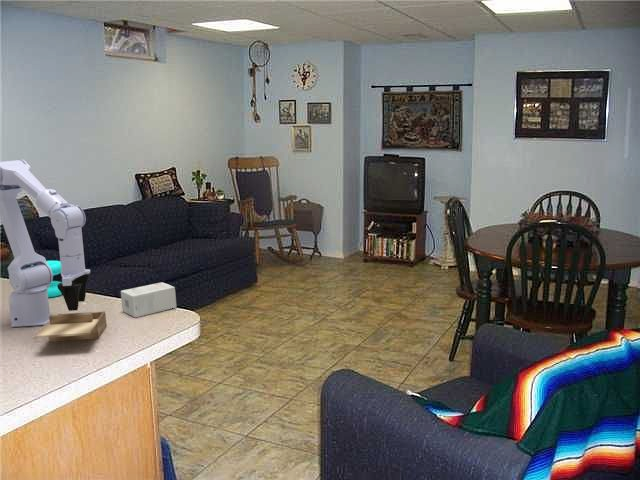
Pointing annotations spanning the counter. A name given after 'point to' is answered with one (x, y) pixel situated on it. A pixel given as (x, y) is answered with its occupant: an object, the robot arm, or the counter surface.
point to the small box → (148, 299)
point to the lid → (68, 325)
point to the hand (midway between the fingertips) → (76, 305)
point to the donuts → (53, 289)
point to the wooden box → (93, 335)
